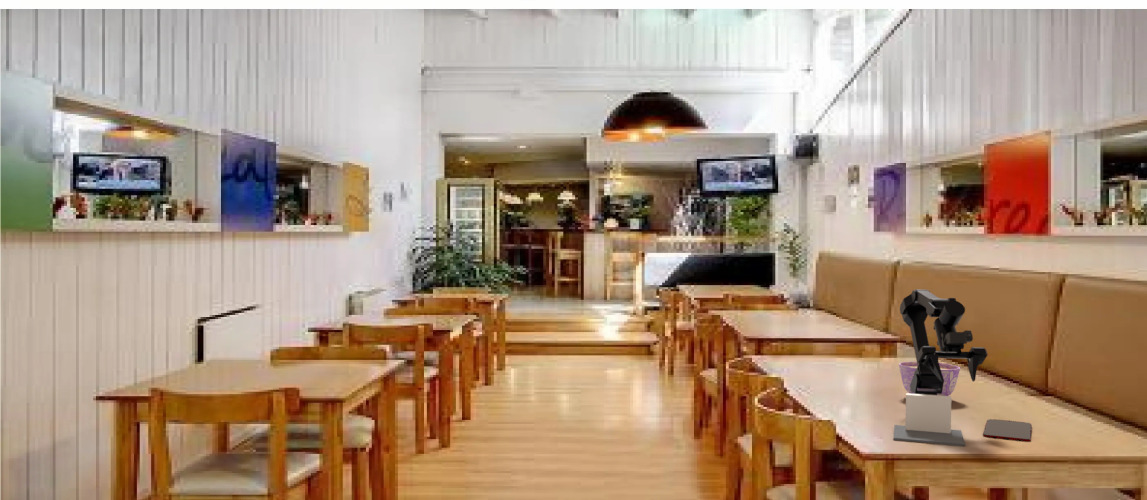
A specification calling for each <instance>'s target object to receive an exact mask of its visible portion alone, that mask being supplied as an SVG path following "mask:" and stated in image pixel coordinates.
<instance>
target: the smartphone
mask: <svg viewBox="0 0 1147 500" xmlns="http://www.w3.org/2000/svg"><path fill="white" fill-rule="evenodd" d="M1032 426H1033V425H1032V423H1030V422H1025V421H1015V420H1007V419H1006V420H1005V419H995V418H994V419H992V418H990V419H989V418H988V419H987V420H986V423H985V425H984V430H983V431H982V432H983V433H982V437H983V438H990V439H991V438H992V439H997V440H999V439H1000V440H1007V441H1008V440H1009V441H1016V442H1017V441H1018V442H1025V443H1026V442H1028V443H1030V442H1031V439H1032V435H1031V432H1033V431H1032V430H1033V429H1032Z"/></svg>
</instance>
